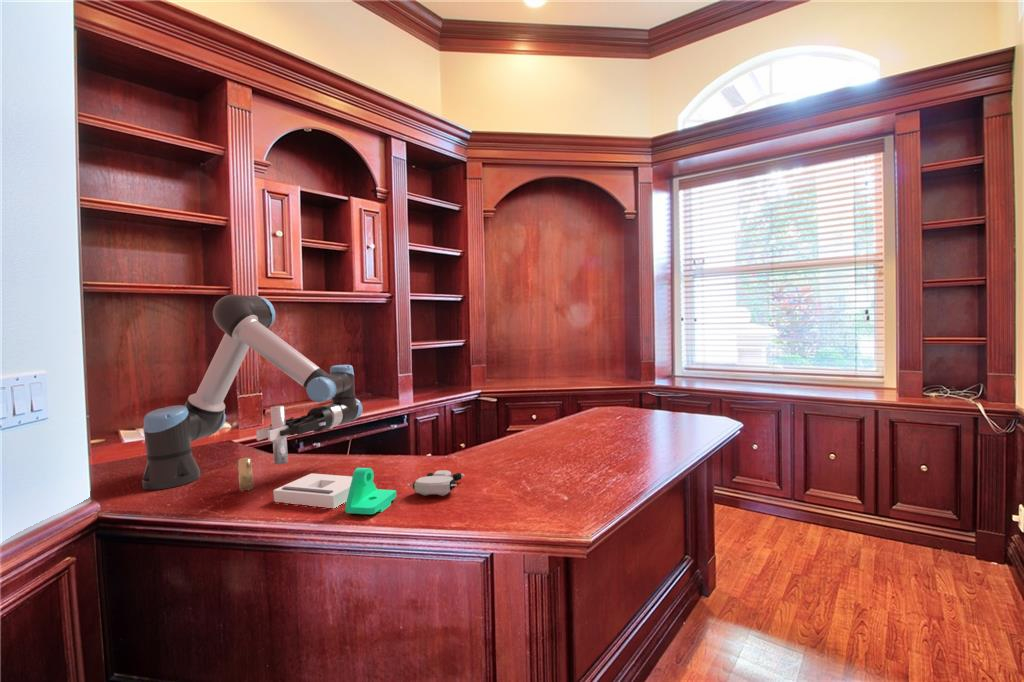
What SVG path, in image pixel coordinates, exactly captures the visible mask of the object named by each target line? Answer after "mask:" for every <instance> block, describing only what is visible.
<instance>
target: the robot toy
mask: <svg viewBox="0 0 1024 682" xmlns="http://www.w3.org/2000/svg"><path fill="white" fill-rule="evenodd" d="M464 477H465V474H464V473H460V472H457V473H454V474H452V472H451V471H450V470H442V469H441V470H436V471H435V472H434V473H433V472H428V473H427V474H426V476H423V477H419V478H417V479H416V480H415V481H414V482H413V483H407V487H409V486H412V489H413V490H414V492H415V493H417V494H419V495H422V496H430V495H438V496H441V497H444V496H446V495H448V494H449V493H450V492H451V491H452V490H454V489H455V488H456V487H457V482H458V481H460V480H462V478H464Z"/></svg>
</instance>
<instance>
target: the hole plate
mask: <svg viewBox="0 0 1024 682" xmlns="http://www.w3.org/2000/svg"><path fill="white" fill-rule="evenodd" d="M352 477H353V475H352V476H351V475H336V474H324V473H323V474H322V473H314V472H313V473H312V472H311V473H309V474H307V475H304V476H302V477H300V478H298V479H296V480H293V481H291V482H289V483H286V484H284V485H283V486H280V487H278V488H275V489H273V492H272V493H273V502H274V501H275V502H284V503H291V504H302V505H309V506H318V507H326V508H333V509H332V510H335V509H334V508H336V507H337V508H339V507H340V506H339V505H341V504H343V503H344V504H346V503H345V502H347V498H348V493H349V489H350V485H351V481H352ZM344 504H343V505H344ZM338 506H339V507H338ZM341 506H342V505H341ZM326 508H325V509H326ZM337 508H336V509H337Z"/></svg>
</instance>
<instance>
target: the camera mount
mask: <svg viewBox="0 0 1024 682" xmlns="http://www.w3.org/2000/svg"><path fill="white" fill-rule="evenodd" d="M374 476H375V475H374V470H373V469H372V468H371V467H356V468H355V470H354V471H353V474H352V481H351V485H350V489H349V493H348V498H347V502H346V503H345V506H344V507H345V508H344V509H345V513H346V514H357V515H359V514H360V515H375V514H376V513H383V512H384V511H386V510H387V509H388V508H389V507H390V506H391V505H392V501H394V500H395V499H396V498H397V490H395V489H380V488H379V489H378V488H377V486H376V484H375V483H374V478H375V477H374Z"/></svg>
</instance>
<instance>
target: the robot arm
mask: <svg viewBox="0 0 1024 682" xmlns="http://www.w3.org/2000/svg"><path fill="white" fill-rule="evenodd" d="M212 317H213V320H214V322H215V324H216V325H217V327H218V328H219V329H220V330H222V331H223V332H224V335H223V336H222V339H221V341H220V342H219V343H220V344H219V345H218V348H217V349H216V351H215V353H214V356H213V358H212V359H211V361H210V364H209V366H208V368H207V370H206V372H205V374H204V376H203V378H202V381H201V382H200V384H199V386H198V387H197V391H196V393H192V394H189V396H188V398H187V399H186V401H185V404H184V405H181V404H179V405H170V406H165V407H162V408H157V409H155V410H151V411H149V412H147V413H146V414H145V415H144V417H143V426H142V428H143V429H142V430H143V434H144V435H143V436H144V444H145V445H144V446H145V452H146V461H147V462H146V465H145V469H144V472H143V476H142V480H141V483H142V484H141V485H142V489H144V490H148V491H149V490H150V491H151V490H154V491H156V490H165V489H169V488H176V487H180V486H183V485H186V484H189V483H192V482H194V481H197V480H198V479H200V477H201V470H200V468H199V465H198V464H197V462H196V460H195V458H194V456H193V453H192V444H191V443H192V442H194V441H198V440H201V439H204V438H206V437H210V436H211V435H213V434H215V433H216V432H218V431H220V430H221V429H222V427H223V426H224V424H225V422H226V418H227V415H226V414H225V412H226V411H225V409H226V404H225V402H224V400H225V398H226V396H227V394H228V392H229V390H230V388H231V387H232V384H233V382H234V380H235V378H236V375H237V374H238V372H239V370H240V368H241V366H242V363H243V361H244V360H245V357H246V356H247V354H248V351H249V349H250V348H251V349H252V350H253V351H255V352H256V353H257V354H258V355H260V356H261V357H262V358H264V359H266V360H267V361H268V362H269V363H271V364H272V365H274V366H275V367H276V368H277V369H278V370H280V371H282V372H283V373H284V374H286V375H287V376H288V377H289V378H291V379H292V380H294V381H295V382H297V383H298V385H300V386H301V387H303V388H304V389H305V390H306V394H307V397H308V398H309V399H310V400H312V401H313V402H315V403H316V402H317V403H323V402H327V401H330V400H331V403H327V404H324V405H320V406H317V407H313V408H311V409H310V410H309V411H308V412H307V414H306V415H301V416H300V417H296V418H295V417H293V416H292V417H289V418H287V419H285V422H286V426H284V427H281V428H277V429H274V430H272V424H271V423H270V425H269V426H267V427H264V428H260V429H256V430H255V437H256V438H255V439H256V441H261V440H264V439H265V440H266V439H267V441H268V442H273V440H276V439H279V438H282V437H285V436H286V437H288V436H294V435H297V436H300V435H303V434H306V433H310V432H315V433H320V432H323V431H325V430H328V429H329V430H333V427H337V426H339V425H343V424H347V423H351V422H353V421H355V420H357V419H358V418H359V417H361V416H362V414H363V408H364V407H363V405H362V402H361V401H360V400H359V399H358V398H356V392H355V390H356V388H355V373H354V367H353V365H351V364H337V365H331V366H330V367H329V373H328V372H326V371H325V370H323V369H322V368H321V367H319V366H318V365H317V364H316V363H314V362H313V361H311V360H310V359H309V358H307V357H306V356H305V355H303V354H302V353H301V352H300V351H298V350H297V349H296V348H294V347H293V346H292V345H291V344H289V343H287V342H286V341H285V340H284V339H282V338H281V337H280V336H278V335H277V334H275V333H274V332H273V331H272V330H270V329H269V328H270V327H272V325H273V324H274V322H275V321H276V310H275V308H274V305H273V304H272V302H271V301H269V299H268V298H265V297H263V296H258V295H256V294H253V295H252V294H251V295H248V294H247V295H246V294H245V295H244V294H227V295H225V296H223V297H221V298H220V299H218V300H217V302H215V305H214V307H213V310H212Z"/></svg>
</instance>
